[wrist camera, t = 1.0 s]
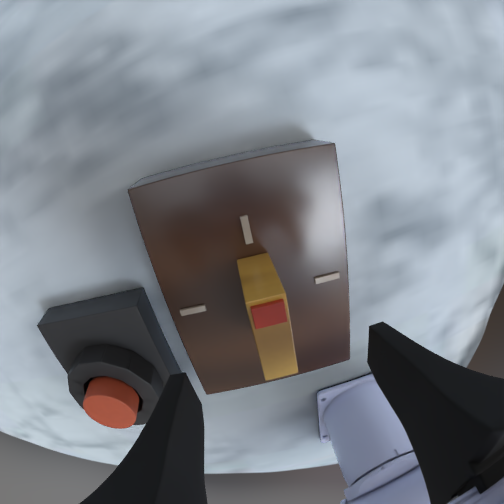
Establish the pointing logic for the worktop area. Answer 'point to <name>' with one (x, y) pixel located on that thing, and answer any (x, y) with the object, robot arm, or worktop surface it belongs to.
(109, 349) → the doorbell
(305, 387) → the worktop surface
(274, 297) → the lock knob
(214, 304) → the plate
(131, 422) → the bell button
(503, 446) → the robot arm
